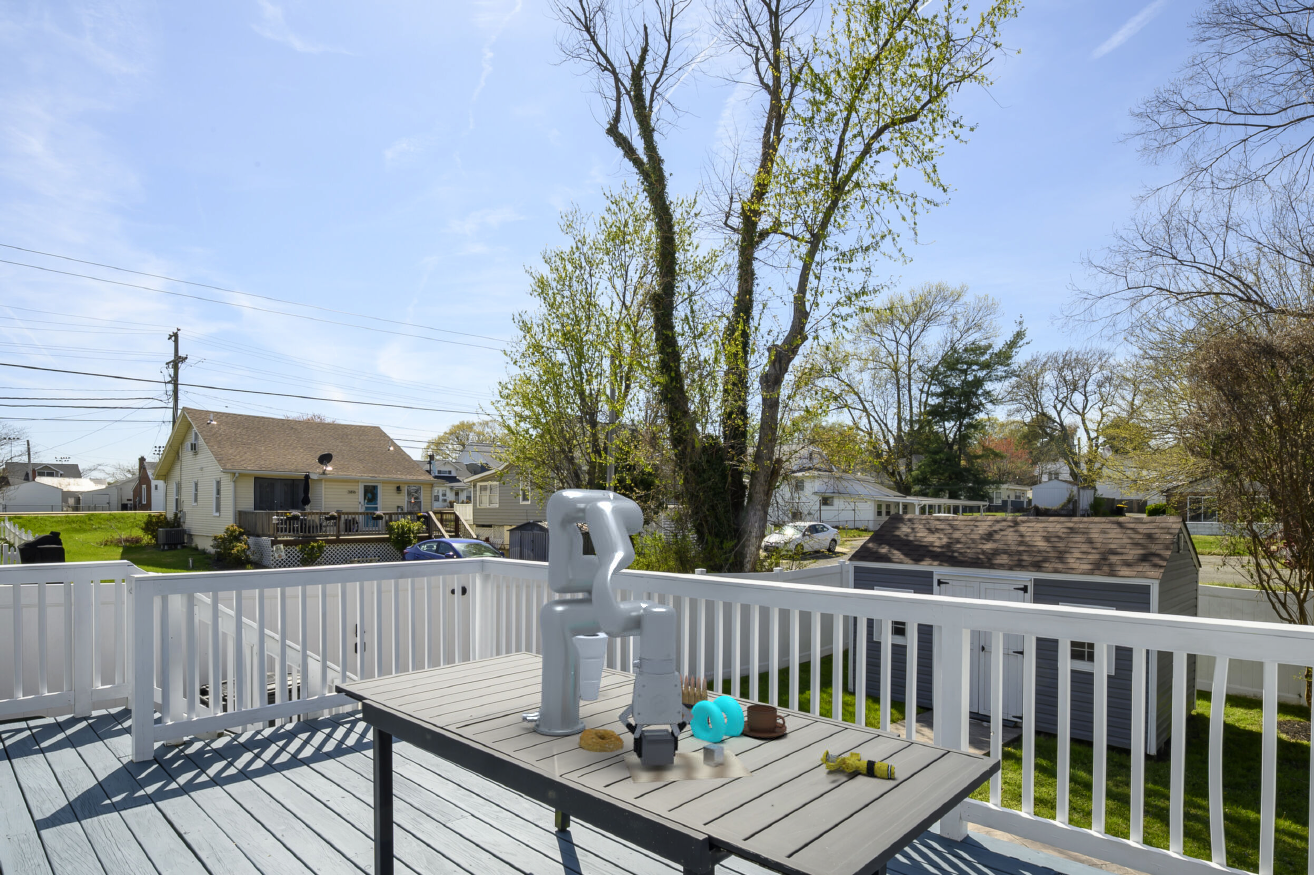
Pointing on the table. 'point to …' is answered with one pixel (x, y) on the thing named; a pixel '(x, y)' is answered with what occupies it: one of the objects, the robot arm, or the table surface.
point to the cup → (591, 663)
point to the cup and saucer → (763, 722)
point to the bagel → (600, 740)
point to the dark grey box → (657, 747)
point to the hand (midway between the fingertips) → (655, 754)
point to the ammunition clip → (693, 693)
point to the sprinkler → (858, 765)
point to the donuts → (717, 719)
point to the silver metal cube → (713, 755)
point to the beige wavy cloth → (685, 768)
